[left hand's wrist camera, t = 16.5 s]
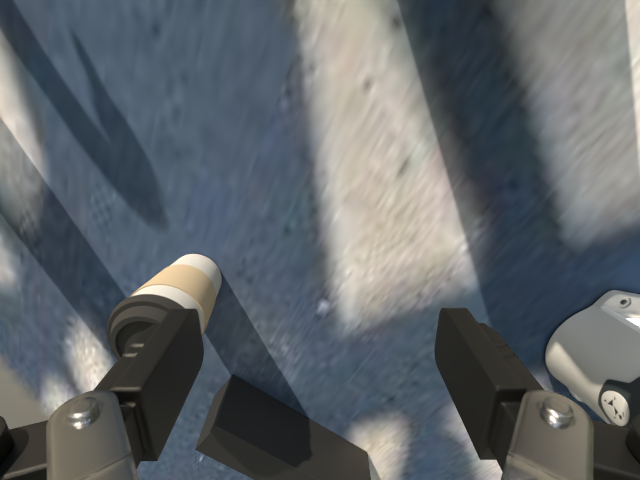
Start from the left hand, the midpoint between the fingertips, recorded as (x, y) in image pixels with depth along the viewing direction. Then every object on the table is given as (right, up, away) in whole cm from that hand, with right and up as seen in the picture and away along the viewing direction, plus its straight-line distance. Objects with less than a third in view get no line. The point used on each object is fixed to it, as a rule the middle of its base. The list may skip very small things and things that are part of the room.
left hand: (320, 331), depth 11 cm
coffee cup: (-17, -2, +35) cm, 39 cm away
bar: (-4, -27, +44) cm, 52 cm away
